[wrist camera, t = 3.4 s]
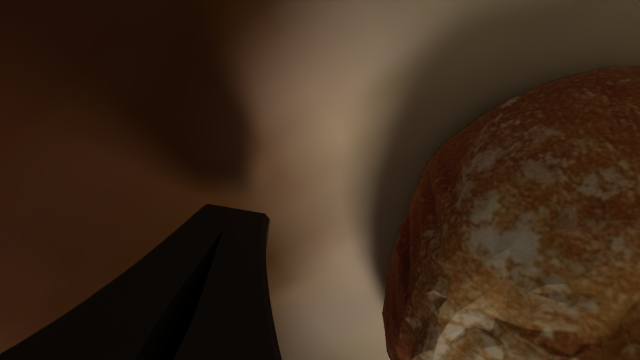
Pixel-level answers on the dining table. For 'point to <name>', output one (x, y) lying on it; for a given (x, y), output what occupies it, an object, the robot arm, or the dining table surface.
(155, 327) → the robot arm
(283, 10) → the dining table surface
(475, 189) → the bread roll
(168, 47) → the dining table surface
